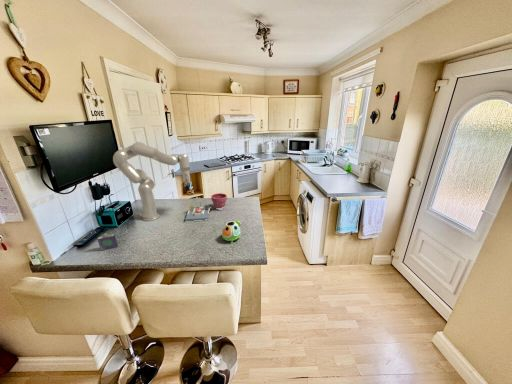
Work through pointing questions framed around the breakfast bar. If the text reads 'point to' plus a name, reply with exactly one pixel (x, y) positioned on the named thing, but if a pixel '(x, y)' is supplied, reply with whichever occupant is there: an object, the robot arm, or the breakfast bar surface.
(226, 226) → the turtle holder
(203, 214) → the panel
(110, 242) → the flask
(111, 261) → the breakfast bar surface
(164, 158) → the robot arm
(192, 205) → the slider brass
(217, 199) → the plant pot
